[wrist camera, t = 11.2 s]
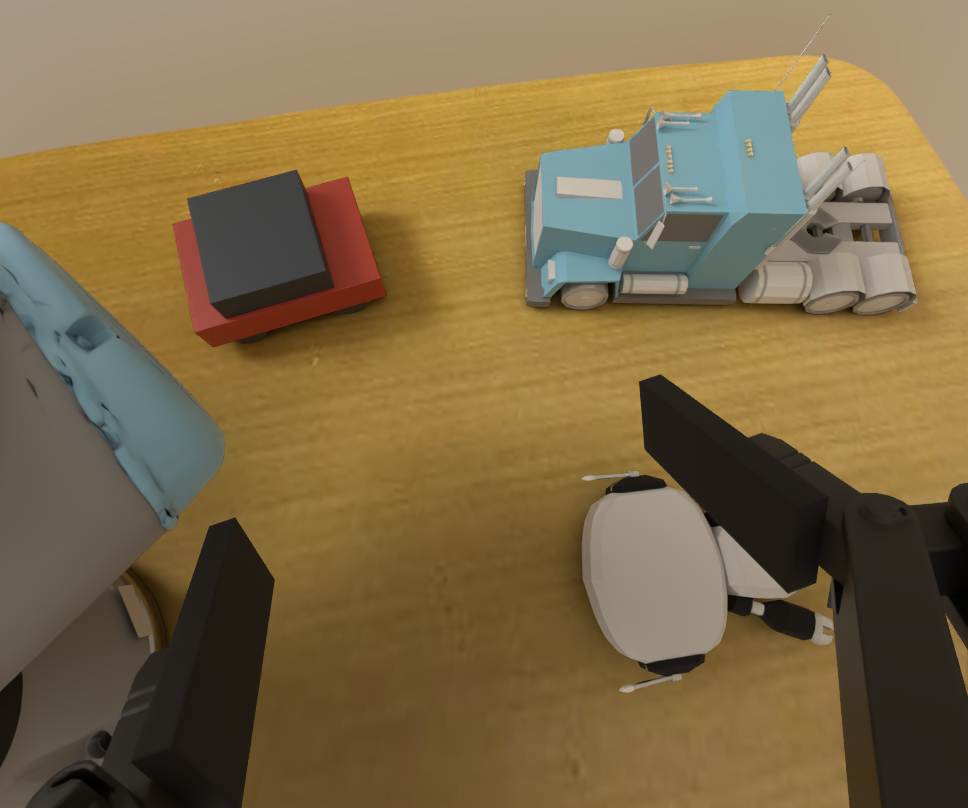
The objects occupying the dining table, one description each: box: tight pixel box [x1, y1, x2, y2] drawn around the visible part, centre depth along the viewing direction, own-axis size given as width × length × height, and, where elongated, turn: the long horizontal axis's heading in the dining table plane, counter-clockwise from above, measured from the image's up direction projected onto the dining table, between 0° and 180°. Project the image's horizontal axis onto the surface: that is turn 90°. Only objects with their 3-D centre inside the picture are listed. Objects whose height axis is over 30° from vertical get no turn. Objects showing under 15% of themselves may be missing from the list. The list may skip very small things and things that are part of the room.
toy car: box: [172, 170, 386, 347], centre depth 37 cm, size 13×6×9 cm
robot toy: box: [581, 471, 834, 693], centre depth 33 cm, size 12×4×15 cm
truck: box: [524, 14, 918, 315], centre depth 34 cm, size 12×29×15 cm, turn 89°
